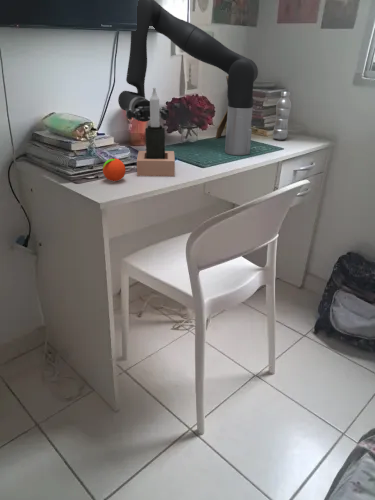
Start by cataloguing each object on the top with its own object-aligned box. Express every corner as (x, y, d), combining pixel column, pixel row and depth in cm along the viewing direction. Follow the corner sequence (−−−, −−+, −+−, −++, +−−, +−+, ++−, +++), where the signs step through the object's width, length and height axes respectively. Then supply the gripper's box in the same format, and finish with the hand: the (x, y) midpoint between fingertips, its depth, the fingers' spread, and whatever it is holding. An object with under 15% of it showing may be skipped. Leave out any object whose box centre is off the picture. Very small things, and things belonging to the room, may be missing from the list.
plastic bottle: (288, 139, 179) (295, 91, 170) (283, 142, 174) (290, 93, 165) (275, 137, 182) (281, 90, 173) (269, 139, 177) (275, 91, 168)
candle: (157, 170, 131) (156, 88, 119) (145, 167, 133) (142, 87, 121) (166, 166, 134) (165, 87, 123) (154, 164, 137) (152, 85, 125)
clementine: (112, 186, 119) (110, 163, 116) (96, 181, 123) (94, 159, 119) (130, 180, 125) (129, 157, 121) (115, 175, 128) (113, 153, 125)
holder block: (173, 165, 140) (173, 151, 137) (174, 176, 129) (174, 161, 127) (139, 165, 139) (138, 150, 137) (137, 176, 128) (136, 160, 126)
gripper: (121, 98, 139) (130, 105, 126) (160, 97, 144) (173, 104, 130) (122, 120, 143) (131, 129, 130) (160, 118, 147) (173, 128, 134)
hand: (152, 117), depth 130 cm, fingers open, 8 cm apart
